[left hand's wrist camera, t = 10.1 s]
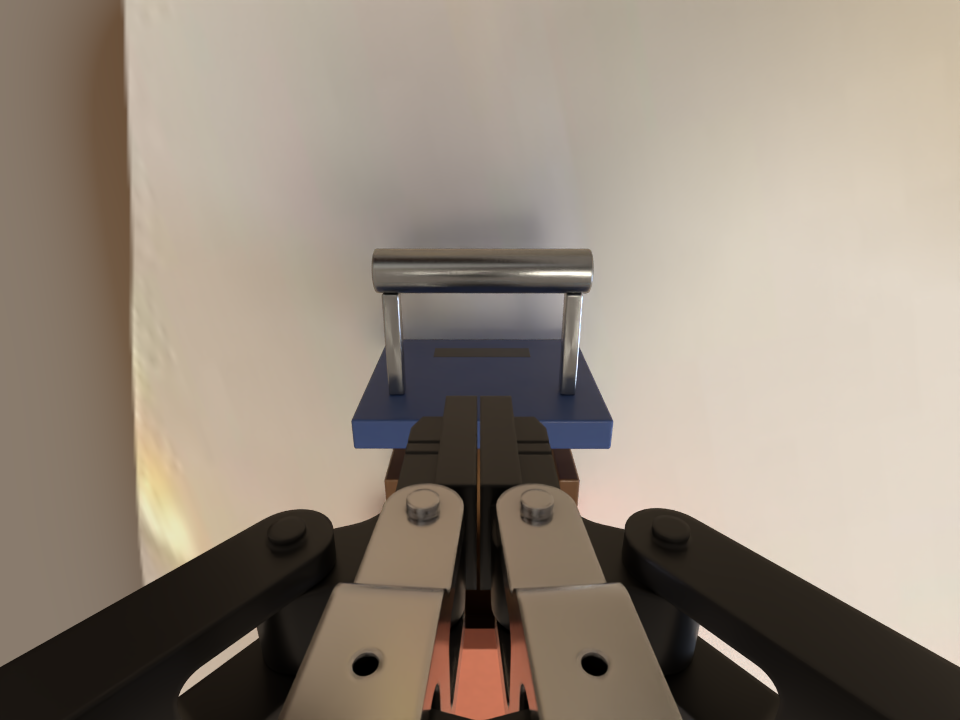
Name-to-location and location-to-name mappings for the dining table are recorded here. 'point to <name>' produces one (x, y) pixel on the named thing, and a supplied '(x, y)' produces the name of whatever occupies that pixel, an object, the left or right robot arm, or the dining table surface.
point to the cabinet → (479, 677)
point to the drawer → (483, 364)
